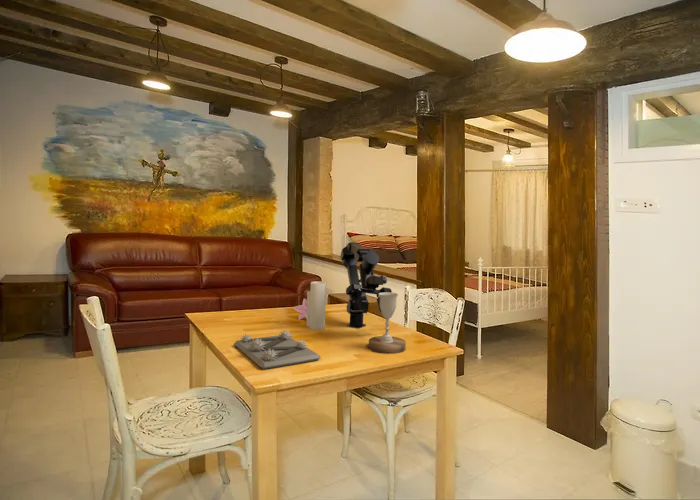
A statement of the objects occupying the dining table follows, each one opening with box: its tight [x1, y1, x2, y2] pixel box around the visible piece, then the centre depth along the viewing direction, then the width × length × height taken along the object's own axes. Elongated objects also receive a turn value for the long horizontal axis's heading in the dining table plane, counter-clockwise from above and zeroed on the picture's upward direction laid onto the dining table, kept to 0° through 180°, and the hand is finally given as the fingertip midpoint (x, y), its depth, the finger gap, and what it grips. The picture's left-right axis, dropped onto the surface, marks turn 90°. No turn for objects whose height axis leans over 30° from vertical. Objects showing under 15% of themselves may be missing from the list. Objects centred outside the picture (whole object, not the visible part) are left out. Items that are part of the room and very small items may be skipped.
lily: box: [293, 298, 307, 321], centre depth 208 cm, size 12×12×10 cm
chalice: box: [379, 292, 399, 343], centre depth 167 cm, size 7×7×18 cm
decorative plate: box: [233, 330, 322, 370], centre depth 158 cm, size 30×22×7 cm
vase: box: [306, 280, 327, 331], centre depth 194 cm, size 11×7×20 cm, turn 20°
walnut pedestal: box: [368, 335, 407, 354], centre depth 167 cm, size 14×14×2 cm
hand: (371, 311), depth 174 cm, fingers open, 9 cm apart
